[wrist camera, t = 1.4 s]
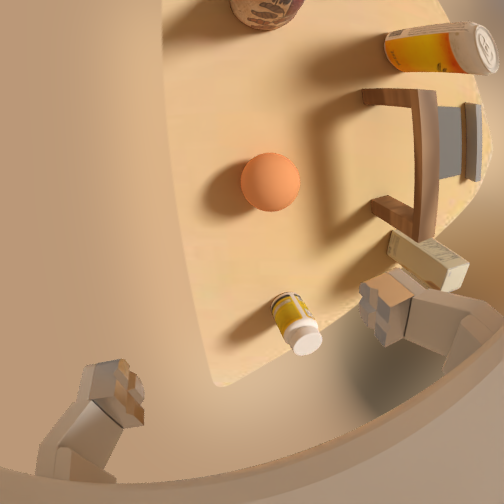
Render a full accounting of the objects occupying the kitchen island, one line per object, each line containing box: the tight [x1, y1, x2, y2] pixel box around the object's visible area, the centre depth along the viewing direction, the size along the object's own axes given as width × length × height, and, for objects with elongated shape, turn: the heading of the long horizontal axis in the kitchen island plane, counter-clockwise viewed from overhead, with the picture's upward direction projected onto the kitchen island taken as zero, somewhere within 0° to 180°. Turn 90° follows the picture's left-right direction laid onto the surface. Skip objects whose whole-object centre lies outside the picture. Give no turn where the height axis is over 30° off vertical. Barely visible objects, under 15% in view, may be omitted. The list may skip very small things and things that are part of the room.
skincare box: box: [387, 230, 470, 293], centre depth 35 cm, size 6×4×12 cm
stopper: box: [465, 103, 482, 182], centre depth 33 cm, size 14×2×2 cm, turn 12°
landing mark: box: [438, 106, 462, 179], centre depth 33 cm, size 12×12×1 cm
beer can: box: [384, 22, 499, 76], centre depth 19 cm, size 6×6×15 cm
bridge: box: [362, 88, 440, 243], centre depth 28 cm, size 3×17×10 cm, turn 12°
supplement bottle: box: [271, 292, 322, 356], centre depth 36 cm, size 5×5×8 cm
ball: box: [241, 153, 300, 212], centre depth 28 cm, size 6×6×6 cm
